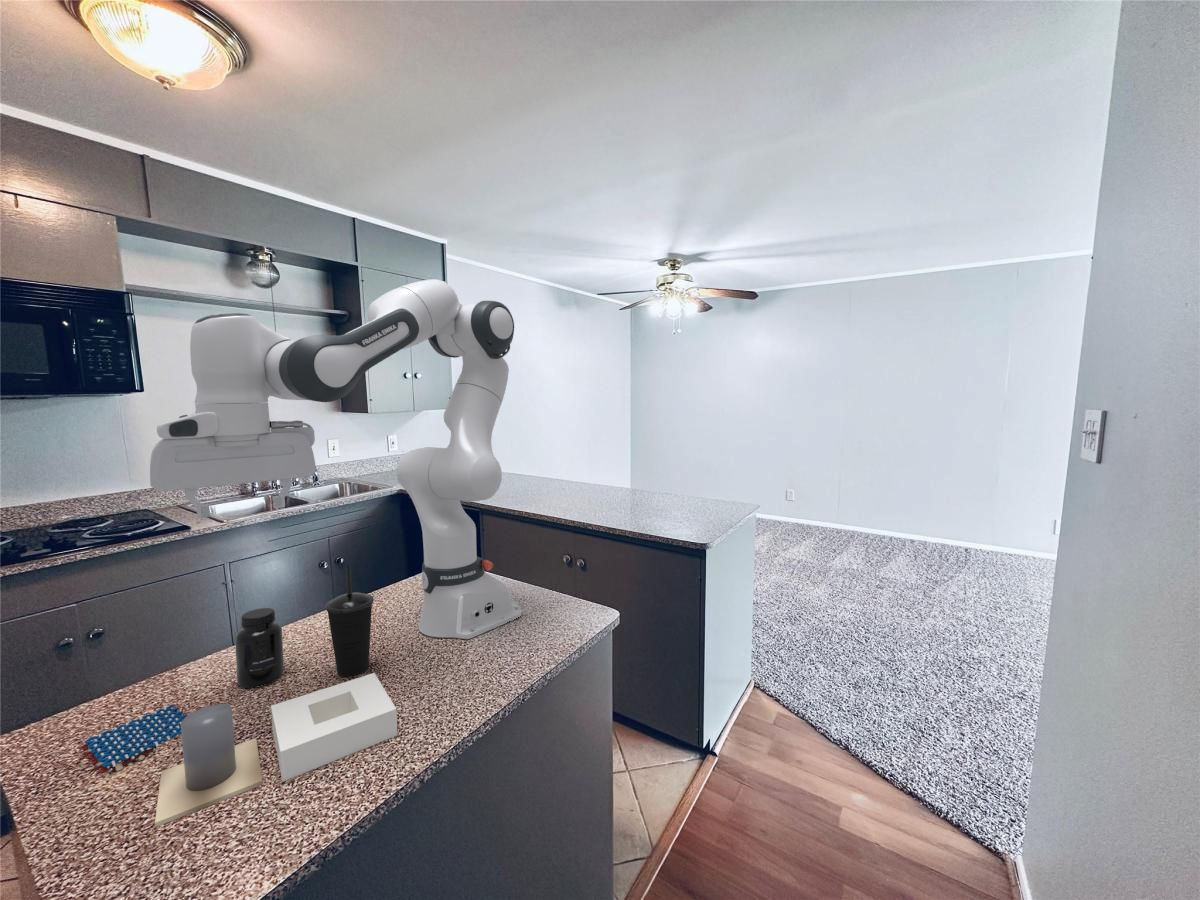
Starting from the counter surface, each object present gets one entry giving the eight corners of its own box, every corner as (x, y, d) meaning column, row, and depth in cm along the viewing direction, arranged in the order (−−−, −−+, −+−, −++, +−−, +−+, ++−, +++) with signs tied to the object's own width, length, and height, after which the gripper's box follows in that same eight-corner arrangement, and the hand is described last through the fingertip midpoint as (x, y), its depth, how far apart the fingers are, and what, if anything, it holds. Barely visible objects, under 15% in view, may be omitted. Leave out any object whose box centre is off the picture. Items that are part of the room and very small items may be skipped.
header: (375, 701, 80) (374, 672, 79) (397, 741, 71) (396, 708, 70) (273, 738, 71) (270, 705, 71) (282, 788, 62) (280, 751, 61)
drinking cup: (345, 692, 83) (339, 577, 81) (320, 678, 87) (314, 568, 85) (385, 671, 89) (381, 564, 87) (360, 659, 93) (356, 557, 91)
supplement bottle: (260, 691, 83) (256, 623, 82) (227, 686, 84) (222, 619, 83) (293, 670, 89) (289, 606, 88) (262, 665, 91) (258, 603, 90)
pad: (256, 747, 69) (256, 737, 69) (263, 791, 61) (262, 780, 61) (162, 781, 63) (161, 770, 63) (156, 835, 55) (154, 822, 55)
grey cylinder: (235, 755, 66) (231, 699, 65) (236, 778, 62) (232, 718, 61) (186, 773, 62) (181, 714, 62) (185, 797, 59) (179, 735, 58)
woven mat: (78, 753, 69) (77, 739, 69) (174, 713, 78) (173, 701, 78) (100, 784, 63) (99, 769, 63) (201, 737, 72) (200, 724, 72)
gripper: (309, 419, 83) (316, 499, 84) (146, 424, 70) (157, 519, 72) (316, 420, 78) (323, 505, 80) (142, 426, 65) (154, 528, 67)
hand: (243, 512), depth 75 cm, fingers open, 8 cm apart
